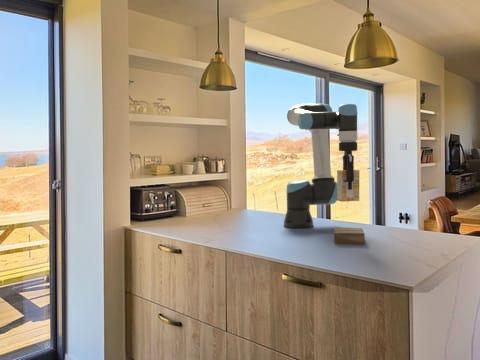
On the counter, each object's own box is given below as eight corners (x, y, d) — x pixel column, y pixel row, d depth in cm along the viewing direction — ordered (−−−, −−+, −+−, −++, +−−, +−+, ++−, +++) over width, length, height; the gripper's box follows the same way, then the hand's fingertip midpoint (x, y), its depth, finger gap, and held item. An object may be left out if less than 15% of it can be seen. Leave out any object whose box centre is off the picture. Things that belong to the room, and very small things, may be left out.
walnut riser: (334, 238, 180) (334, 227, 180) (362, 239, 177) (362, 227, 177) (334, 244, 168) (334, 233, 168) (364, 245, 166) (364, 233, 165)
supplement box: (341, 202, 168) (341, 170, 167) (336, 200, 173) (336, 170, 172) (360, 201, 170) (359, 169, 169) (354, 199, 174) (354, 169, 174)
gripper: (336, 142, 179) (336, 194, 181) (342, 141, 161) (342, 199, 162) (353, 141, 179) (353, 193, 180) (361, 140, 160) (361, 199, 161)
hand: (348, 196), depth 171 cm, fingers closed on supplement box, 6 cm apart
